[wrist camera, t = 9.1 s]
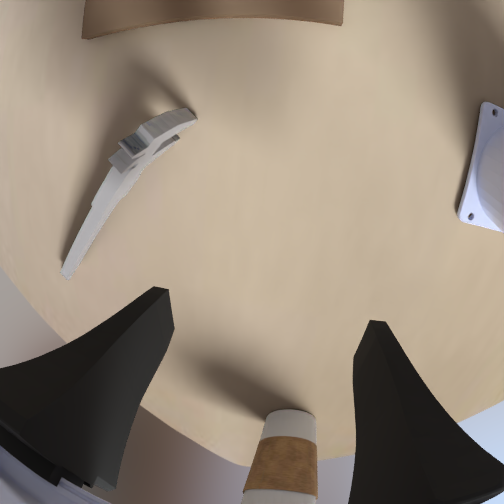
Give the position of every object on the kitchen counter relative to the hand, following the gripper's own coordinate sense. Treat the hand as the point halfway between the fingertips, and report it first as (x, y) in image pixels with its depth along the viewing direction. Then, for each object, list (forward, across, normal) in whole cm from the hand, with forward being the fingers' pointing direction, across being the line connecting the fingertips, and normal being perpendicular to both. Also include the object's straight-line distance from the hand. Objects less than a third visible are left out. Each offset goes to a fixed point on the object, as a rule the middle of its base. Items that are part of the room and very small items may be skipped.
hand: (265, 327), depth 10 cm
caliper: (+10, +13, +1) cm, 16 cm away
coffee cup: (+10, -4, +25) cm, 27 cm away
